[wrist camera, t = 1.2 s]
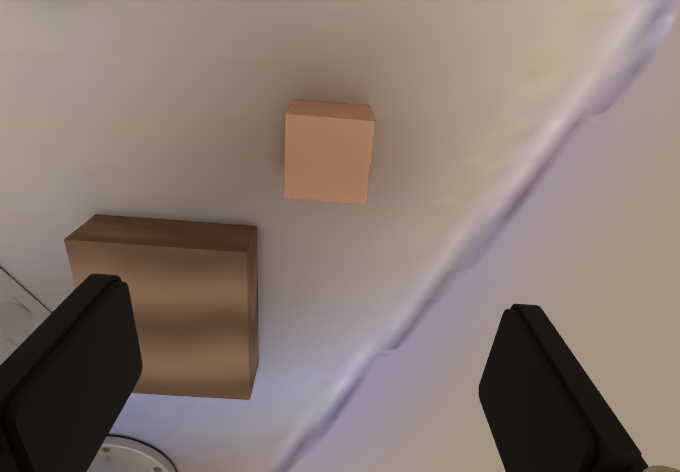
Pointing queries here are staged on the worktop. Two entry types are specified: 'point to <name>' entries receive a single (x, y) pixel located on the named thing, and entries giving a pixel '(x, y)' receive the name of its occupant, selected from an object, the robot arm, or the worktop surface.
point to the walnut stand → (181, 299)
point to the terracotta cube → (328, 151)
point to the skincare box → (17, 315)
